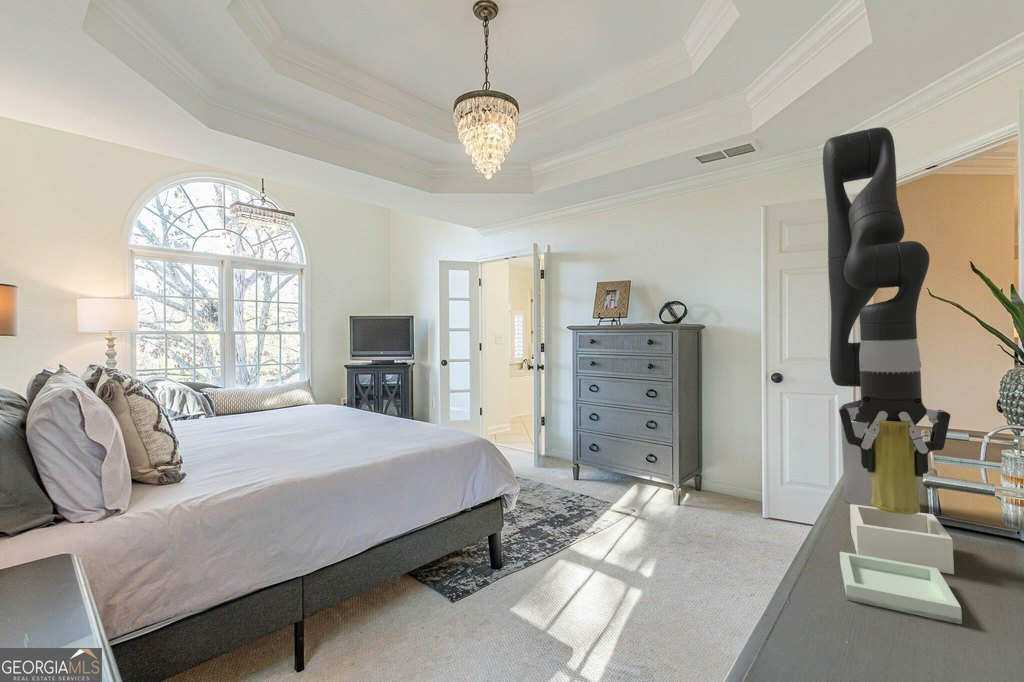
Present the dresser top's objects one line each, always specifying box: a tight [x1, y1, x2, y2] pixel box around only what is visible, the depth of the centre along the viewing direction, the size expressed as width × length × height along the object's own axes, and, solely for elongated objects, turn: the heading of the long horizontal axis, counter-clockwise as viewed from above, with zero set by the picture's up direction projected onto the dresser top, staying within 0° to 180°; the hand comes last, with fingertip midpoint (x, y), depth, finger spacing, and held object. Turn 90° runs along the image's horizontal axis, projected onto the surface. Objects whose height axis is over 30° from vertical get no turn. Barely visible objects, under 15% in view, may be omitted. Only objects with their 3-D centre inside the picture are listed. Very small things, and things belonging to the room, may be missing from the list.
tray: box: [839, 551, 963, 625], centre depth 61 cm, size 11×11×2 cm
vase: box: [871, 420, 922, 514], centre depth 73 cm, size 6×6×14 cm
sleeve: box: [849, 503, 955, 575], centre depth 73 cm, size 11×11×5 cm
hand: (893, 472), depth 73 cm, fingers closed on vase, 5 cm apart
